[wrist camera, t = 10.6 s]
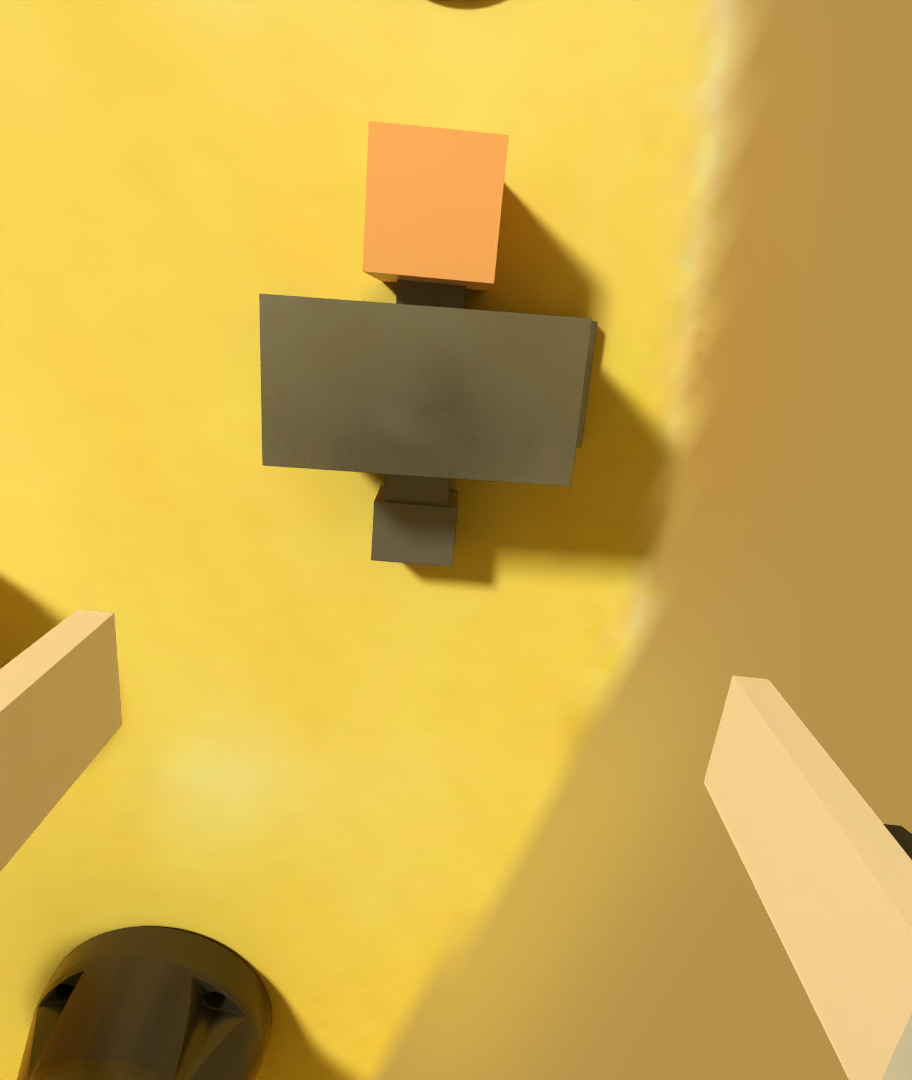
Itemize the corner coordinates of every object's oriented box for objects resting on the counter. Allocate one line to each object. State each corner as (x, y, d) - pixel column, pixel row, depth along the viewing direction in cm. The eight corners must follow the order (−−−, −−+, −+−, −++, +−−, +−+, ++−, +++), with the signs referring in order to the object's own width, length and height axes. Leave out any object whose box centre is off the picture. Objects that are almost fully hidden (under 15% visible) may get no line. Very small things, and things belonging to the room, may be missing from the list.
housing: (275, 423, 34) (208, 461, 25) (273, 298, 33) (200, 289, 23) (578, 444, 35) (623, 490, 25) (593, 321, 33) (649, 322, 24)
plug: (368, 539, 36) (349, 588, 30) (387, 163, 31) (368, 121, 24) (461, 546, 36) (463, 597, 30) (496, 174, 31) (508, 135, 24)
